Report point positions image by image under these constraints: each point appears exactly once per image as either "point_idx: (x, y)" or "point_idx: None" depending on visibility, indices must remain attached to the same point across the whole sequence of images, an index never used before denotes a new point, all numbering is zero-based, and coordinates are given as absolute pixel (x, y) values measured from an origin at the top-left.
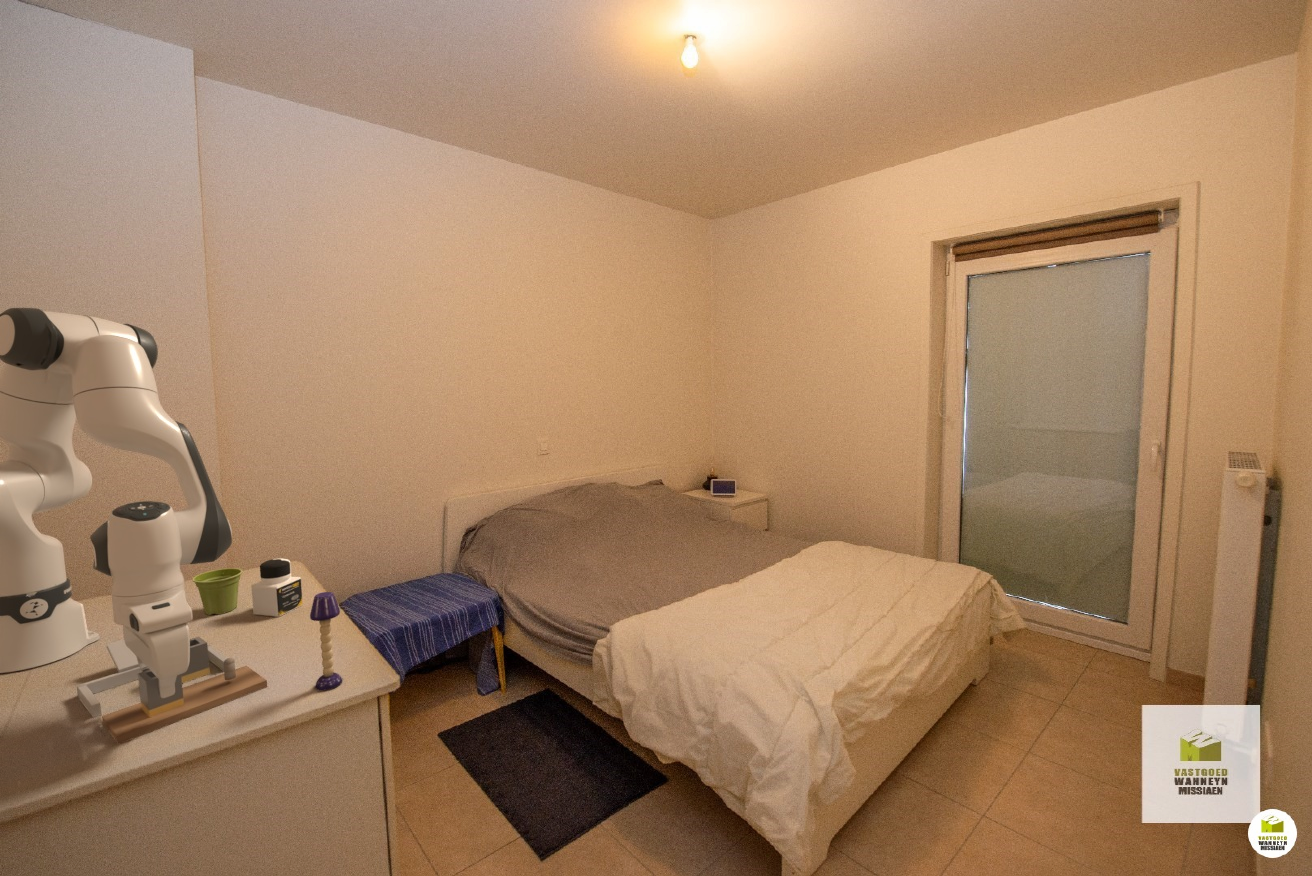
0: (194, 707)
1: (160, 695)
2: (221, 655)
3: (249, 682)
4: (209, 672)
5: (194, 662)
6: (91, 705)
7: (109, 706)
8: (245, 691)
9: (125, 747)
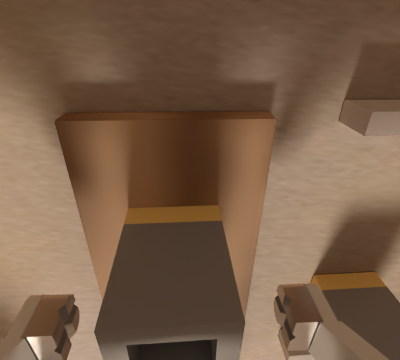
0: (98, 282)
1: (28, 302)
2: None
3: None
4: None
5: None
6: (375, 111)
7: (369, 147)
8: None
9: (23, 121)
